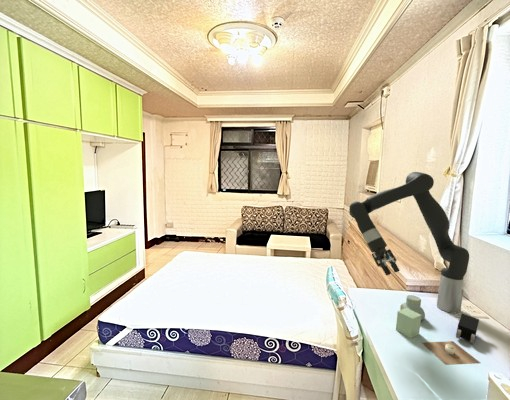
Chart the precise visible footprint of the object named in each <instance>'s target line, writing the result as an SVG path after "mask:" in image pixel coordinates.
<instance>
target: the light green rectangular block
mask: <svg viewBox="0 0 510 400" xmlns="http://www.w3.org/2000/svg"><path fill="white" fill-rule="evenodd" d="M421 321H422V320H421V315H420V314H418V313H416V312H414V311H412V310H410V309H408V308H404V309H402V310H400V309H399V310H397V316H396V323H395V325H396V326H395V330H396V332H398V333H401V334H402V335H404V336H405V337H407V338H409V339H413V338H414V337H416V336H418V335H420V328H421Z"/></svg>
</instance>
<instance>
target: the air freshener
mask: <svg viewBox="0 0 510 400" xmlns="http://www.w3.org/2000/svg"><path fill="white" fill-rule="evenodd" d="M421 304H422V299H421V298H420V297H419V296H416V295H413V294H409V295H407V296H406V301H405V302H403V303H402V304H400V306H399V308H400V309H399V311H400V310H402V309H404V308H408V309H410V310H412V311H414V312H416V313H418V314H420V315H421V321H423V320H425V319H426V313H425V311H424V309H423V307H421V306H422V305H421Z"/></svg>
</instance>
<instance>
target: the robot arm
mask: <svg viewBox="0 0 510 400" xmlns="http://www.w3.org/2000/svg"><path fill="white" fill-rule="evenodd" d="M434 183H435V181H434V178H433V177H432V176H431V175H429V174H427V173H425V172H419V171H413V172H410V173H408V175H407V176H406V178H405V184H402V185H399V186H397V187H393V188H390V189H385V190H382V191H380V192H377V193H375V194H373V195H371V196H368V197H367V198H366V199H365V200H363V201H362V202H360V201H358V200H356V201H353V202H352V203H350V205H349V207H348V209H349V215H350V217H351V218H353V219H354V220H355V222H356V224H357V228H358V230H359V231H360V233H361V235H362V237H363V239H364V241H365V244H366V245H367V247H368V249H369V251H370V252H371V253H372V254H371V256H372V258H373V261H374V262H375V265H376V266H377V268H378V267H379V268H381V269H382V271H383V272H384V274H385V276H389V275H391V274H392V272H391V270H390V269H389V267H388V265H389V264H390V266H391V268H392V270H393V272H394V273H398V272H400V268H399V267H398V265H397V264H396V263H397V261H398V259H397V258H396V256H395V255H394V254H393V252H392V250H391V249H390V248H389V249H387V246H388V245H387V242H386V241H385V240H384V238H383V236H382V234H381V233H380V231H379V230H378V228H377V227H376V225H375V224H374V222H373V221H372V219H371V217H370V215H369V214H370V213H372V212H374V211H376V210H379V209H381V208H384V207H385V206H387V205H390V204H392V203H395V202H398V201H399V200H402V199H406V198H408V197H409V198H410V197H413V198H414V199H415V201H416V204H417V207H418V208H419V210H420V213H421V215H422V217H423V220H424V222H425V224H426V226H427V227H428V229H429V232H430V233H431V236H432V237H433V239H434V242H435V245H436V248H437V250H438V253H439V255H440V257H441V258H442V259H443V260H444V261H446V262H448V263H449V264H448V267H443V268H442V269H441V270H440V271H441V272H440V278H439V283H438V292H437V293H438V294H437V299H436V307H437V308H438V307H439V308H438V309H440V310H441V309H442V311H444V312H446V313H451V314H456V313H459V312H461V311H462V303H463V297H464V294H463V292H462V290H463V289H462V288H463V284H464V278H465V276H466V274H467V272H468V267H469V261H470V253H469V251H468V249H466V248H464V247H462V246H460V245H456V244H454V242H453V241H452V239H451V237H450V234H449V229H450V219H449V217H448V216H447V214H446V211H445V210H444V208H443V207H442V205H440V203H439V202H438V201H437V200H436V199H435V197H433V195H432V194H431V192H430V190H431V189H432V188H433V186H434ZM387 263H388V265H387Z"/></svg>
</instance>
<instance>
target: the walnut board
mask: <svg viewBox="0 0 510 400" xmlns="http://www.w3.org/2000/svg"><path fill="white" fill-rule="evenodd" d="M421 344H422V345H423V346H424V347H426V348H427V349H428V350H429V351H430V352H431V353H432V354H434V356H435V357H436V358H438V359H439V360H440V361H441V362H442V363H443V364H444V365H445V366H447V365H449V366H450V365H467V364H469V365H470V364H471V365H472V364H481V361H479V360H478V359H476V358H475V357H474V356H472V355H471V354H470V353H469V352H467V350H465V349H464V348H462V347H461V346H460V345H459V344H457V343H456V342H455V341H452V340H451V341H450V340H449V341H430V342H429V341H425V342H424V341H423V342H422V341H421ZM446 344H449V345H452V346H454V347H455V353H454V355H450V354H448V353H446V352H445V345H446Z"/></svg>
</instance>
